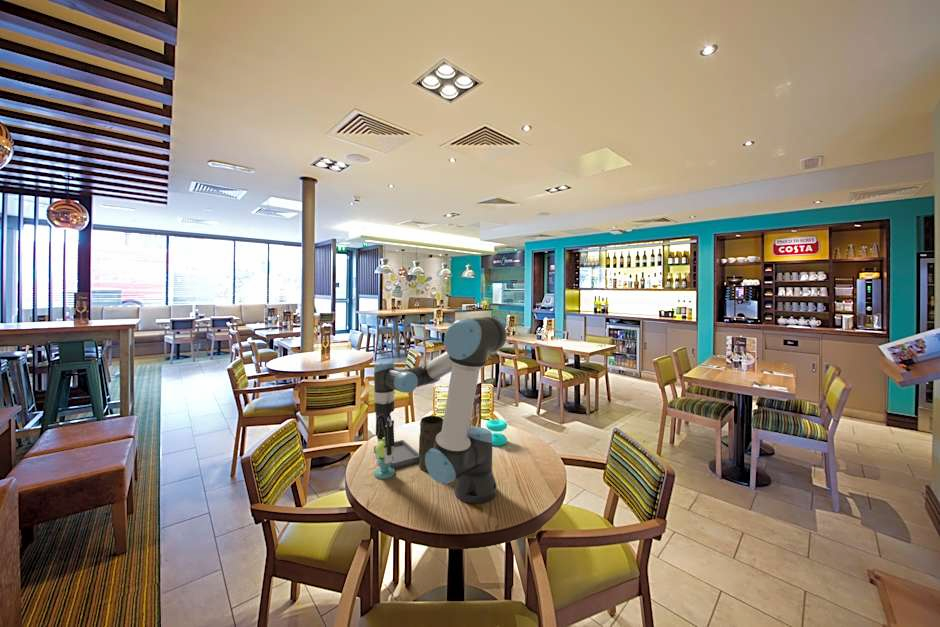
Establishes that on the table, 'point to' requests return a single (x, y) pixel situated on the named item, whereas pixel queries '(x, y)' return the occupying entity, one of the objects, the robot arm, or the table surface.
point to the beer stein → (428, 436)
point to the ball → (381, 449)
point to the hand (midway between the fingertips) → (384, 458)
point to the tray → (403, 454)
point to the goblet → (384, 469)
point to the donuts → (497, 427)
